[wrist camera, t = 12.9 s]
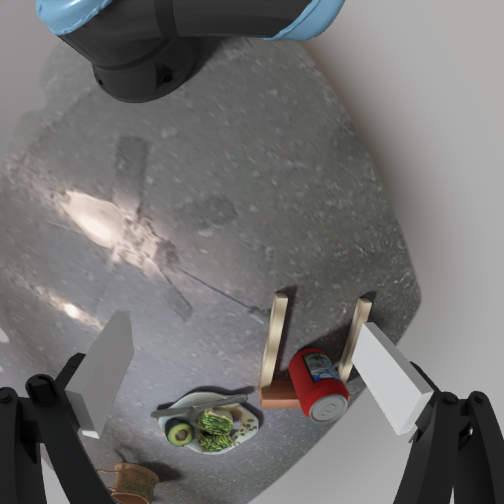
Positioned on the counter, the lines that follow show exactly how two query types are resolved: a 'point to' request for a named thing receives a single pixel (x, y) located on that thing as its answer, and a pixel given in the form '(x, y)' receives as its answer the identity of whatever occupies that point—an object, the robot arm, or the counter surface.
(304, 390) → the beverage can
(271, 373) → the guide channel
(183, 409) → the avocado toast plate
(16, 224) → the counter surface
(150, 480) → the mug
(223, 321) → the counter surface
